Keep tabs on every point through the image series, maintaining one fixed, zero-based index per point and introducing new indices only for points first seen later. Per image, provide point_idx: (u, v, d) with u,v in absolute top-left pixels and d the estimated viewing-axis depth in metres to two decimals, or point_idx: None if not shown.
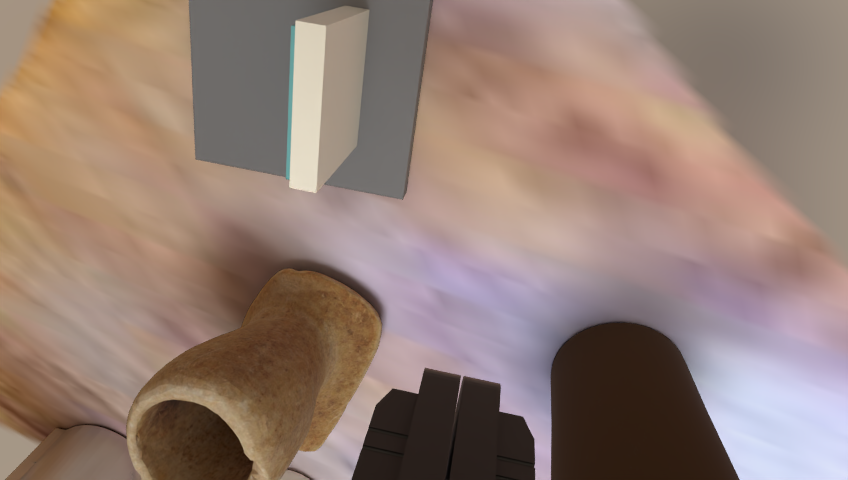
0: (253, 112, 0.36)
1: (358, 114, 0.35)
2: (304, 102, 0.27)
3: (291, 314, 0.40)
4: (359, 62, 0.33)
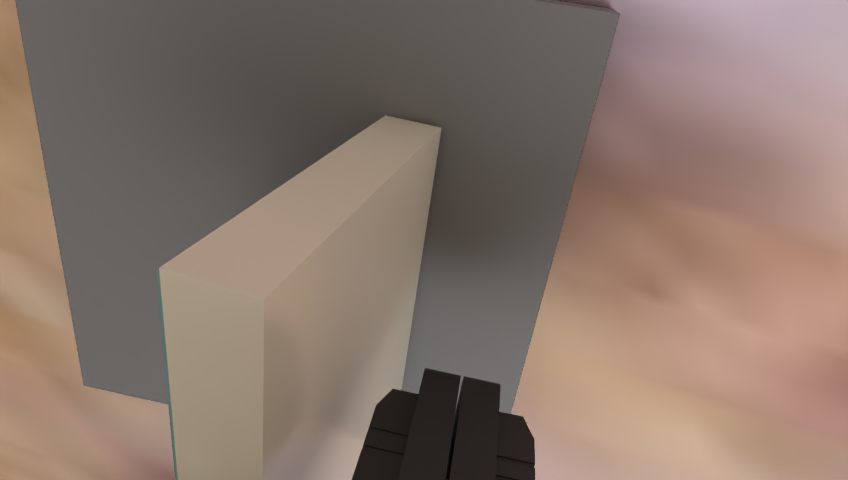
0: None
1: (406, 337, 0.16)
2: None
3: None
4: (411, 250, 0.14)
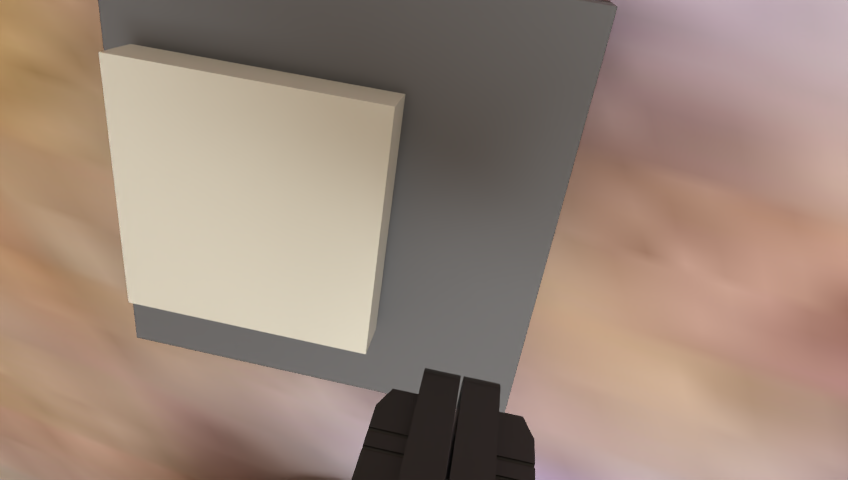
0: None
1: (361, 297, 0.17)
2: None
3: None
4: (339, 194, 0.16)
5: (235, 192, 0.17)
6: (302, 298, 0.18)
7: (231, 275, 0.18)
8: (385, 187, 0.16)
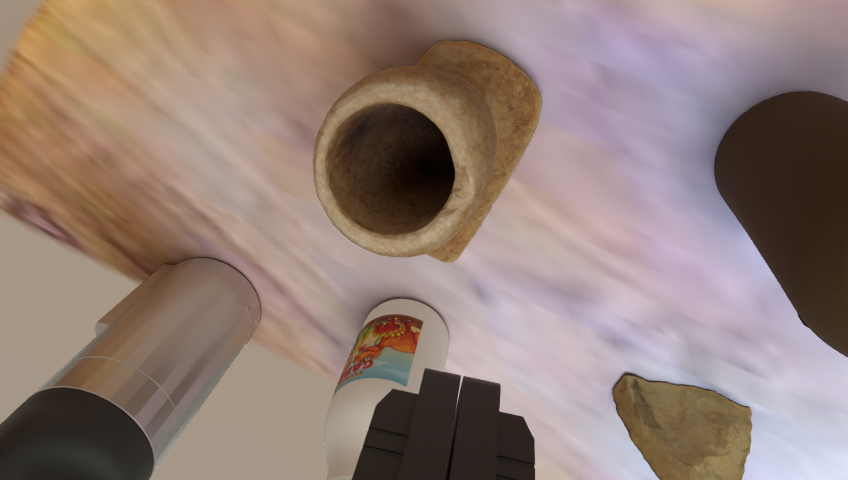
0: None
1: None
2: None
3: None
4: None
5: None
6: None
7: None
8: None
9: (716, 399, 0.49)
